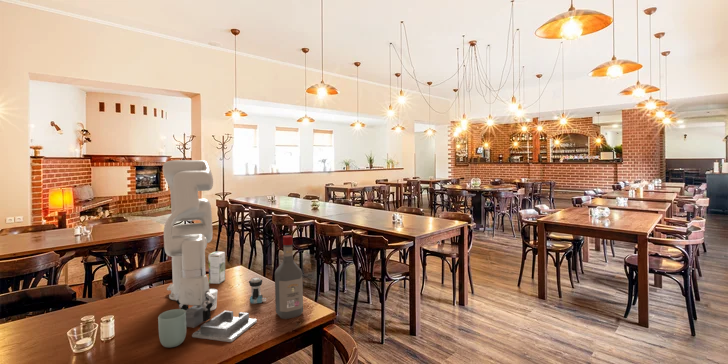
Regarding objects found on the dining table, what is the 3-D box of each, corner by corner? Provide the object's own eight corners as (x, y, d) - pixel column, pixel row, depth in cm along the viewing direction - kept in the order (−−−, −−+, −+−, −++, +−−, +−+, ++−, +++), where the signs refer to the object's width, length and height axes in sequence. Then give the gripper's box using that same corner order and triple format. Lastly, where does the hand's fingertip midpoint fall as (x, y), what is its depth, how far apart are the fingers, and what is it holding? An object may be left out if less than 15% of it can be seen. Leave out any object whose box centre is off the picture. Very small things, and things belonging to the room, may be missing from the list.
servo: (181, 327, 123) (180, 309, 123) (199, 317, 132) (198, 300, 132) (192, 329, 122) (191, 310, 122) (209, 318, 131) (208, 301, 131)
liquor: (305, 315, 132) (303, 236, 131) (281, 320, 128) (279, 239, 126) (296, 306, 140) (295, 233, 139) (274, 312, 135) (272, 235, 134)
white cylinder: (221, 306, 142) (221, 289, 141) (209, 313, 135) (208, 295, 135) (208, 304, 144) (207, 287, 144) (195, 310, 138) (194, 293, 137)
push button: (267, 299, 148) (266, 276, 148) (264, 304, 143) (263, 280, 142) (251, 300, 148) (250, 277, 147) (248, 305, 143) (247, 281, 142)
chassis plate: (192, 337, 116) (191, 326, 116) (221, 317, 131) (220, 308, 131) (231, 342, 113) (230, 331, 112) (256, 321, 127) (256, 312, 127)
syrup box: (214, 279, 175) (213, 251, 175) (226, 280, 175) (225, 251, 174) (208, 283, 170) (207, 254, 169) (220, 283, 169) (219, 254, 168)
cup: (166, 339, 115) (165, 309, 115) (191, 337, 116) (189, 308, 115) (154, 351, 107) (153, 319, 107) (180, 350, 108) (179, 318, 108)
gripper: (166, 273, 125) (167, 320, 126) (207, 277, 120) (209, 325, 121) (181, 267, 132) (183, 312, 133) (221, 270, 128) (222, 316, 128)
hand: (195, 318), depth 127 cm, fingers open, 9 cm apart
